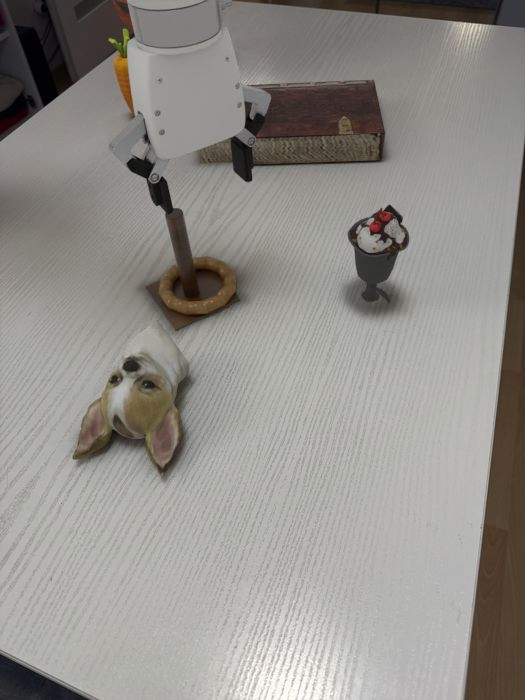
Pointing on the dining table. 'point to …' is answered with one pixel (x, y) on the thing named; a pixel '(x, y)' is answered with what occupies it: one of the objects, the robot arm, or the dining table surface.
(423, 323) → the dining table surface
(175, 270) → the ring
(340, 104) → the hardback book
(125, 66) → the carrot
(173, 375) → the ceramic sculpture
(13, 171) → the dining table surface
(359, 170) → the dining table surface
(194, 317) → the peg
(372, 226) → the sundae
